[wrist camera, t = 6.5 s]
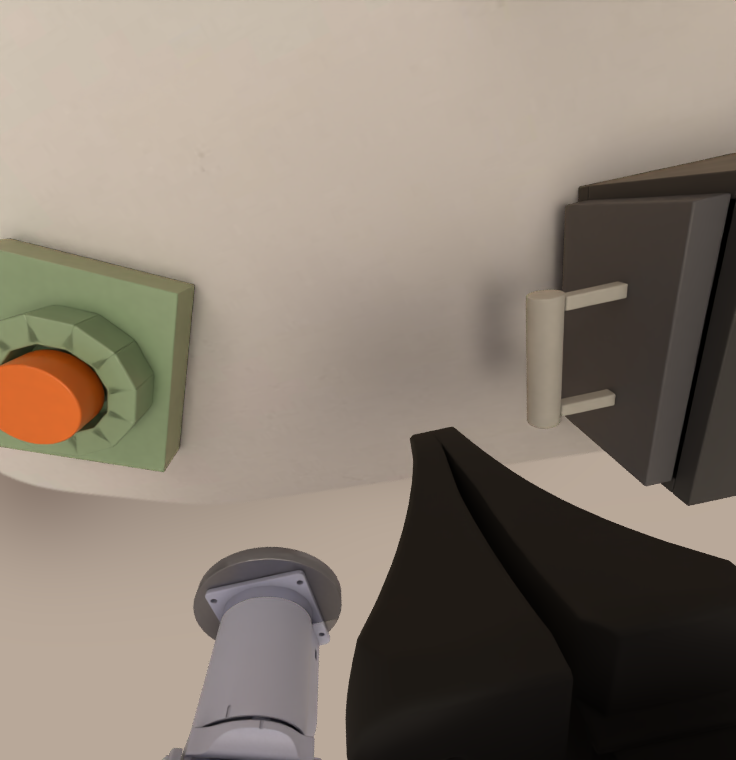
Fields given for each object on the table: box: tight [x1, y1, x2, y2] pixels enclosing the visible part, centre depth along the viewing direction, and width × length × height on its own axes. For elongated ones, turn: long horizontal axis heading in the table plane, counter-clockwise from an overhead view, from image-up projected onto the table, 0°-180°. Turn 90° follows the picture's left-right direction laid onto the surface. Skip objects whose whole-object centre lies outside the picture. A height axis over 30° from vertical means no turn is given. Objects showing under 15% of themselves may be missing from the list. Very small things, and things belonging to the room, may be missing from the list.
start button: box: [0, 349, 105, 444], centre depth 15 cm, size 4×4×2 cm
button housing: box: [0, 239, 194, 472], centre depth 17 cm, size 10×8×4 cm
